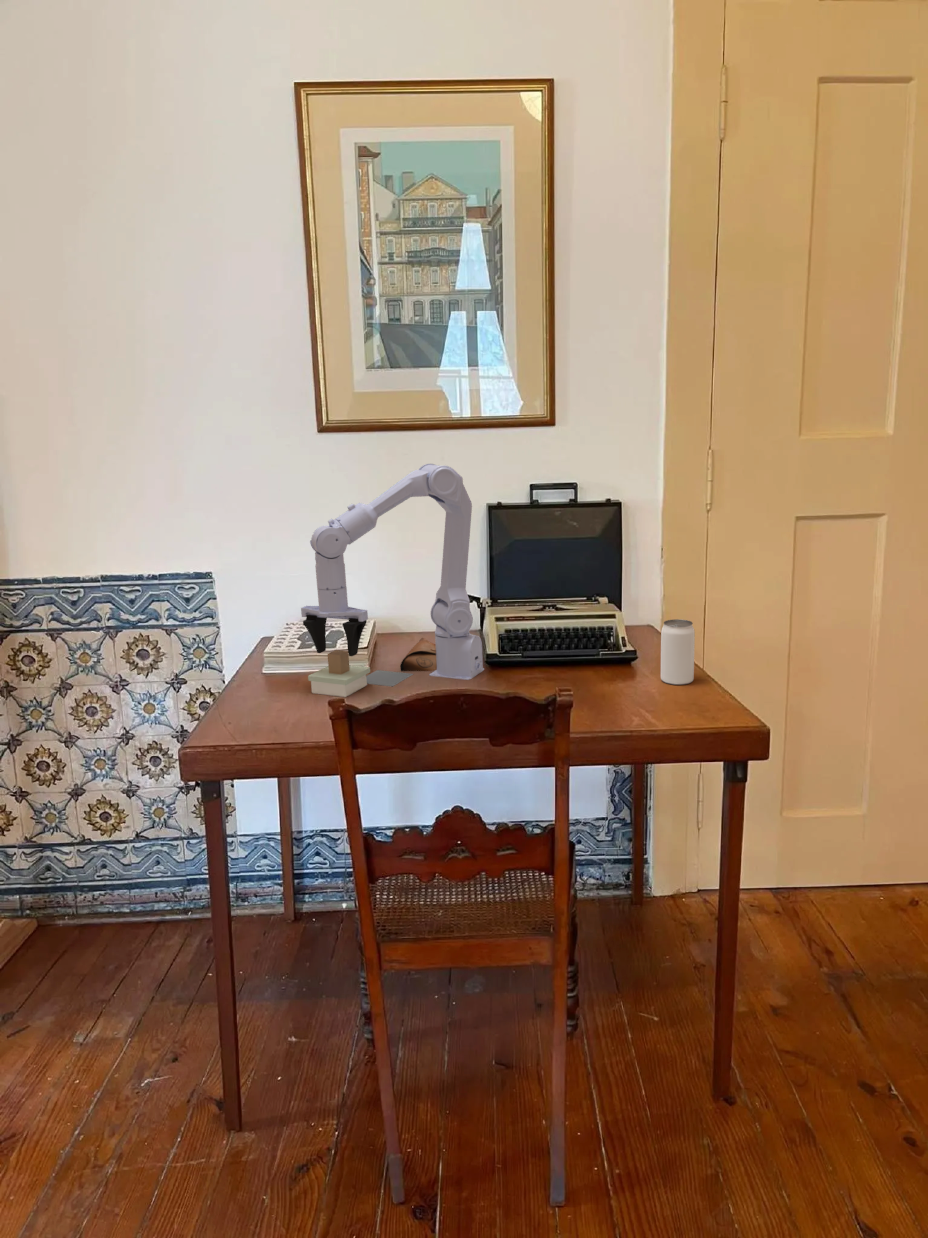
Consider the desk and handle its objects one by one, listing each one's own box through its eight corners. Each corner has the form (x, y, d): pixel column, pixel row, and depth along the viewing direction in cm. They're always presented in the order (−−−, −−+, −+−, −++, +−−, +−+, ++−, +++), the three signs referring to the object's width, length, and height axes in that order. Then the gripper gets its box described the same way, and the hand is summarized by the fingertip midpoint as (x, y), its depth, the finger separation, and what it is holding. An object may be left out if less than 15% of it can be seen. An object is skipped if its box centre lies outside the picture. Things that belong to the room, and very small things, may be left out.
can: (696, 677, 177) (697, 619, 174) (690, 686, 171) (691, 627, 168) (664, 674, 179) (665, 617, 177) (657, 683, 174) (658, 625, 171)
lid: (370, 672, 179) (368, 648, 178) (346, 685, 171) (344, 660, 170) (333, 668, 183) (331, 645, 181) (308, 680, 175) (306, 656, 174)
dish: (367, 687, 179) (366, 673, 178) (345, 699, 172) (344, 684, 171) (334, 683, 182) (333, 669, 182) (312, 694, 175) (310, 680, 175)
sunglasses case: (439, 673, 186) (422, 647, 185) (412, 689, 188) (395, 663, 187) (453, 650, 203) (437, 626, 203) (428, 665, 205) (413, 641, 205)
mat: (413, 675, 185) (413, 673, 185) (392, 688, 178) (392, 686, 177) (377, 671, 189) (377, 670, 189) (355, 683, 181) (355, 682, 181)
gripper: (289, 589, 172) (295, 655, 175) (351, 593, 166) (357, 661, 169) (310, 582, 178) (316, 646, 181) (371, 585, 172) (376, 652, 175)
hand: (337, 653), depth 175 cm, fingers open, 7 cm apart
